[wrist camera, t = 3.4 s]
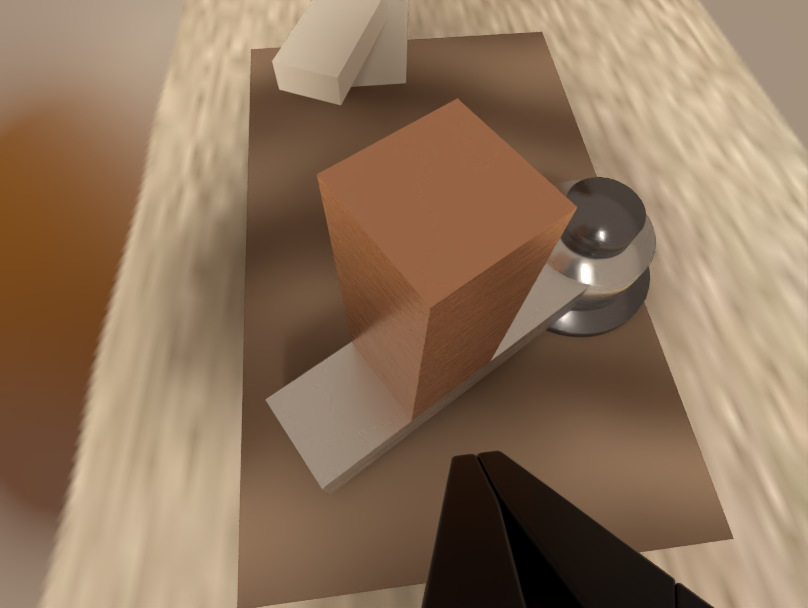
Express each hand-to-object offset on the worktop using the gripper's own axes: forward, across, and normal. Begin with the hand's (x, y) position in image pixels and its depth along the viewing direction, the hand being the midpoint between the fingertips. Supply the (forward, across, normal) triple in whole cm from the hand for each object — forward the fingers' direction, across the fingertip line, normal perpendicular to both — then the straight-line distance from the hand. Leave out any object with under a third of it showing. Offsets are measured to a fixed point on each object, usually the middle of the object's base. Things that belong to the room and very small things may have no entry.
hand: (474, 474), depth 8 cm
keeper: (+18, +1, -7) cm, 19 cm away
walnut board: (+13, -1, -1) cm, 13 cm away
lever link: (+9, -2, +1) cm, 9 cm away
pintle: (+11, -6, 0) cm, 13 cm away
